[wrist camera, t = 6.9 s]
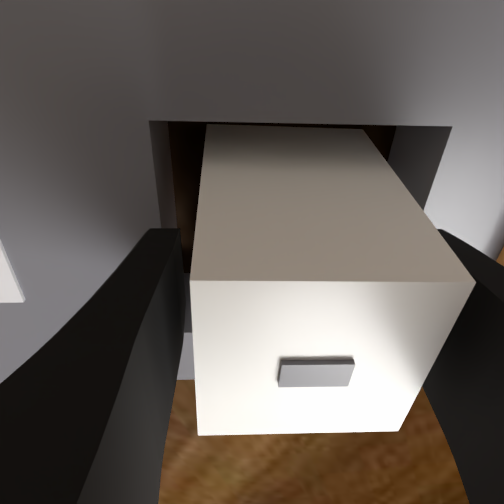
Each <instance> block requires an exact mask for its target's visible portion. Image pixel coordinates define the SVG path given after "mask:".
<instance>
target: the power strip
mask: <svg viewBox="0 0 504 504" xmlns="http://www.w3.org/2000/svg"><path fill="white" fill-rule="evenodd" d="M168 121H202V122H253V123H304V124H355V125H397V127H396V131H395V134H394V138H393V142H392V146H391V150H390V154H389V157H388V161H387V163H388V164H389V165H390V167H391V168H392V169H393V171H394V172H395V174H396V175H397V176H398V178H399V179H400V180H401V182H402V183H403V184H404V186H405V187H406V188H407V190H408V191H409V192H410V194H411V195H412V196H413V198H414V199H415V201H416V202H417V203H418V205H419V206H420V207H421V209H422V210H423V211H424V213H425V214H426V215H427V217H428V218H429V219H430V221H431V222H432V223H433V225H434V226H435V228H436V229H443V230H445V231H447V232H449V233H451V234H452V235H454V236H456V237H458V238H459V239H461V240H463V241H464V242H466V243H468V244H469V245H471V246H473V247H474V248H476V249H477V250H479V251H481V252H482V253H484V254H485V255H487V256H488V257H490V258H492V259H493V260H495V261H496V262H498V263H499V264H501V265H503V266H504V0H0V383H1V382H3V381H4V380H5V379H6V378H7V377H8V376H10V375H11V374H12V373H13V372H14V371H15V370H16V369H18V368H19V367H20V366H21V365H22V364H23V363H24V362H26V361H27V360H28V359H29V358H30V357H31V356H32V355H33V354H34V353H36V352H37V351H38V350H39V349H40V348H41V347H42V346H43V345H44V344H45V343H46V342H47V341H48V340H49V339H51V338H52V337H53V336H54V335H55V334H56V333H57V332H58V331H59V330H60V329H61V328H62V327H63V326H64V325H65V324H66V323H67V322H68V321H69V320H70V319H71V318H72V316H73V315H74V314H75V313H76V312H77V311H78V310H79V309H80V308H81V307H82V306H83V305H84V304H85V303H86V302H87V301H88V300H89V299H90V298H91V297H92V296H93V295H94V293H95V292H96V291H97V290H98V289H99V288H100V287H101V286H102V284H103V283H104V282H105V281H106V280H107V279H108V278H109V276H110V275H111V274H112V273H113V272H114V271H115V270H116V268H117V267H118V266H119V265H120V264H121V262H122V261H123V260H124V259H125V257H126V256H127V255H128V254H129V253H130V251H131V250H132V249H133V247H134V246H135V245H136V244H137V242H138V241H139V240H140V239H141V237H142V236H143V235H144V233H145V232H146V231H148V230H149V229H150V228H177V218H176V207H175V195H174V184H173V173H172V161H171V150H170V139H169V128H168ZM184 283H185V295H186V309H185V325H184V339H183V347H182V353H181V359H180V364H179V370H178V375H177V380H183V379H195V370H194V351H193V333H192V315H191V296H190V273H184Z"/></svg>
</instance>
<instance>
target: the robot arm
mask: <svg viewBox="0 0 504 504" xmlns="http://www.w3.org/2000/svg"><path fill="white" fill-rule="evenodd" d="M437 230H438V232H439V233H440V234H441V236H442V237H443V238H444V240H445V241H446V242H447V244H448V245H449V246H450V248H451V249H452V250H453V252H454V253H455V255H456V256H457V257H458V259H459V260H460V261H461V263H462V264H463V265H464V267H465V268H466V269H467V271H468V272H469V273H470V275H471V276H472V277H473V279H474V280H475V282H476V284H475V286H474V287H473V289H472V291H471V293H470V295H469V297H468V299H467V301H466V303H465V305H464V307H463V308H462V310H461V312H460V314H459V316H458V318H457V320H456V322H455V324H454V326H453V328H452V329H451V331H450V333H449V335H448V337H447V339H446V341H445V343H444V345H443V347H442V348H441V350H440V352H439V354H438V356H437V358H436V360H435V362H434V364H433V366H432V368H431V369H430V371H429V373H428V375H427V377H426V379H425V381H424V383H423V385H422V386H423V389H424V391H425V393H426V395H427V397H428V399H429V402H430V404H431V406H432V408H433V410H434V413H435V415H436V417H437V419H438V421H439V424H440V426H441V428H442V430H443V432H444V434H445V437H446V439H447V442H448V444H449V447H450V449H451V452H452V454H453V456H454V459H455V462H456V465H457V468H458V471H459V473H460V476H461V479H462V482H463V485H464V488H465V491H466V494H467V497H468V500H469V503H470V504H504V266H503V265H501V264H499V263H498V262H496V261H495V260H493V259H492V258H490V257H488V256H487V255H485V254H484V253H482V252H481V251H479V250H477V249H476V248H474V247H473V246H471V245H469V244H468V243H466V242H464V241H463V240H461V239H459V238H458V237H456V236H454V235H452V234H451V233H449V232H447V231H445V230H443V229H437ZM185 309H186V295H185V283H184V271H183V259H182V247H181V235H180V228H150V229H149V230H148V231H146V232H145V233H144V235H143V236H142V237H141V239H140V240H139V241H138V242H137V244H136V245H135V246H134V247H133V249H132V250H131V251H130V253H129V254H128V255H127V256H126V257H125V259H124V260H123V261H122V262H121V264H120V265H119V266H118V267H117V268H116V270H115V271H114V272H113V273H112V274H111V275H110V276H109V278H108V279H107V280H106V281H105V282H104V283H103V284H102V286H101V287H100V288H99V289H98V290H97V291H96V292H95V293H94V295H93V296H92V297H91V298H90V299H89V300H88V301H87V302H86V303H85V304H84V305H83V306H82V307H81V308H80V309H79V310H78V311H77V312H76V313H75V314H74V315H73V316H72V318H71V319H70V320H69V321H68V322H67V323H66V324H65V325H64V326H63V327H62V328H61V329H60V330H59V331H58V332H57V333H56V334H55V335H54V336H53V337H52V338H51V339H49V340H48V341H47V342H46V343H45V344H44V345H43V346H42V347H41V348H40V349H39V350H38V351H37V352H36V353H34V354H33V355H32V356H31V357H30V358H29V359H28V360H27V361H26V362H24V363H23V364H22V365H21V366H20V367H19V368H18V369H16V370H15V371H14V372H13V373H12V374H11V375H10V376H8V377H7V378H6V379H5V380H4V381H3V382H1V383H0V504H158V499H159V488H160V477H161V468H162V461H163V454H164V447H165V441H166V435H167V430H168V424H169V419H170V413H171V408H172V402H173V397H174V392H175V386H176V381H177V375H178V370H179V364H180V359H181V353H182V347H183V339H184V325H185Z"/></svg>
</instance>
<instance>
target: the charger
mask: <svg viewBox="0 0 504 504" xmlns="http://www.w3.org/2000/svg"><path fill="white" fill-rule="evenodd" d="M475 284H476V282H475V280H474V279H473V277H472V276H471V275H470V273H469V272H468V271H467V269H466V268H465V267H464V265H463V264H462V263H461V261H460V260H459V259H458V257H457V256H456V255H455V253H454V252H453V250H452V249H451V248H450V246H449V245H448V244H447V242H446V241H445V240H444V238H443V237H442V236H441V234H440V233H439V232H438V230H437V229H436V228H435V226H434V225H433V223H432V222H431V221H430V219H429V218H428V217H427V215H426V214H425V213H424V211H423V210H422V209H421V207H420V206H419V205H418V203H417V202H416V201H415V199H414V198H413V196H412V195H411V194H410V192H409V191H408V190H407V188H406V187H405V186H404V184H403V183H402V182H401V180H400V179H399V178H398V176H397V175H396V174H395V172H394V171H393V169H392V168H391V167H390V165H389V164H388V163H387V161H386V160H385V159H384V157H383V156H382V155H381V153H380V152H379V151H378V149H377V148H376V147H375V145H374V144H373V142H372V141H371V140H370V138H369V137H368V136H367V134H366V133H365V132H364V130H363V129H342V128H312V127H282V126H252V125H222V124H207V126H206V135H205V144H204V154H203V163H202V172H201V181H200V190H199V199H198V209H197V218H196V227H195V236H194V245H193V254H192V264H191V273H190V296H191V315H192V333H193V351H194V370H195V388H196V407H197V425H198V435H241V434H287V433H332V432H378V431H398V430H399V429H400V427H401V425H402V423H403V421H404V419H405V417H406V415H407V413H408V411H409V410H410V408H411V406H412V404H413V402H414V400H415V398H416V396H417V394H418V392H419V390H420V389H421V387H422V385H423V383H424V381H425V379H426V377H427V375H428V373H429V371H430V369H431V368H432V366H433V364H434V362H435V360H436V358H437V356H438V354H439V352H440V350H441V348H442V347H443V345H444V343H445V341H446V339H447V337H448V335H449V333H450V331H451V329H452V328H453V326H454V324H455V322H456V320H457V318H458V316H459V314H460V312H461V310H462V308H463V307H464V305H465V303H466V301H467V299H468V297H469V295H470V293H471V291H472V289H473V287H474V286H475Z"/></svg>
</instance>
